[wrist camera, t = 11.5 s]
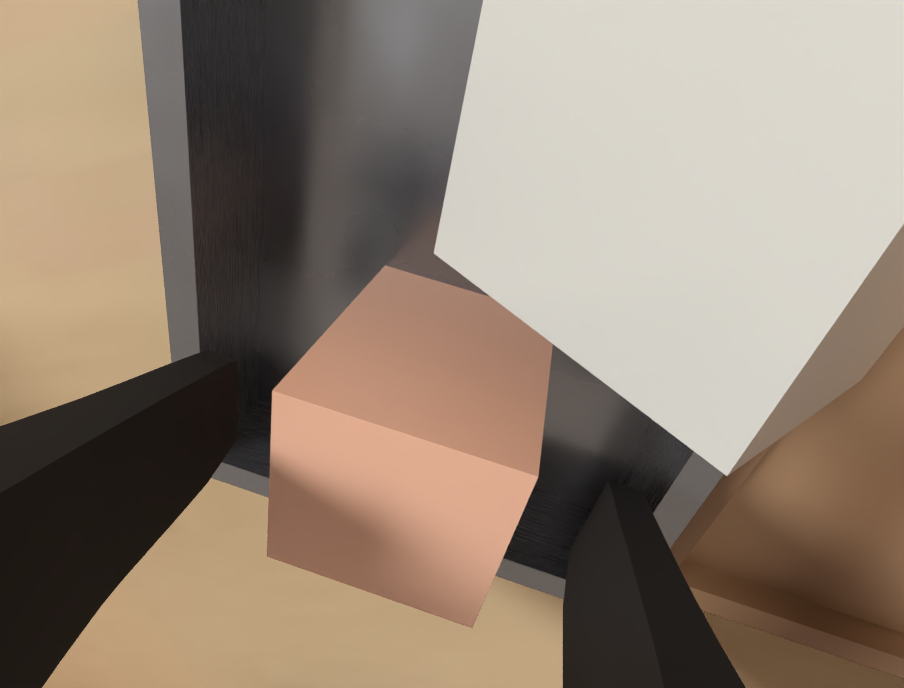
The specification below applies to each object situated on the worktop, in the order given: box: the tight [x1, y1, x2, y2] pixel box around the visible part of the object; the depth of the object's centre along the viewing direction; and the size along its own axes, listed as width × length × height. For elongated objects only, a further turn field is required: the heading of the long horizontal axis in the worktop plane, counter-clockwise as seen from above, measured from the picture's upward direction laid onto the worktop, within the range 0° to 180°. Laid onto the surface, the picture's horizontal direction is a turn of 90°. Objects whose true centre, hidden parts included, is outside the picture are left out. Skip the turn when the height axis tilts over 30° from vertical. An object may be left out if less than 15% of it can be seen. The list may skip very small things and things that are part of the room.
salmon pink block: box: [267, 266, 553, 628], centre depth 11 cm, size 4×4×5 cm
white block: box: [434, 0, 904, 476], centre depth 7 cm, size 4×4×5 cm
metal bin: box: [138, 0, 723, 599], centre depth 10 cm, size 11×13×3 cm
